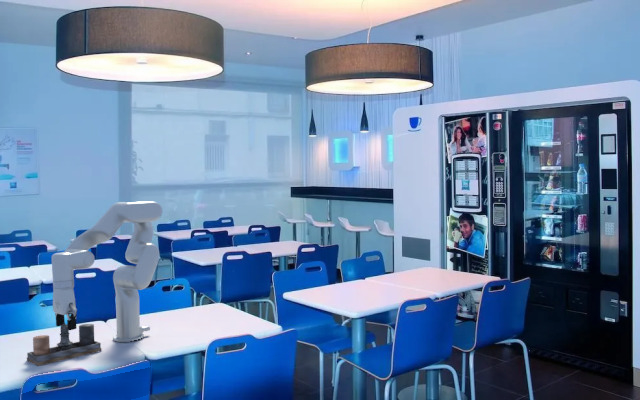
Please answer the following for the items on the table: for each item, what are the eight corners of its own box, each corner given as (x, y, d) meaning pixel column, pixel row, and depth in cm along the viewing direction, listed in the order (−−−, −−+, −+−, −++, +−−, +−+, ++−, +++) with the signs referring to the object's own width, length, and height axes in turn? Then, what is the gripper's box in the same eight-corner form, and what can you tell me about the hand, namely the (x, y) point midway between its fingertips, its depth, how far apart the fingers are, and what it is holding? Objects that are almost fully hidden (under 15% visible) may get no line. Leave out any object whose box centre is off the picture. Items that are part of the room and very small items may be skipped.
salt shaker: (74, 353, 236) (73, 322, 235) (57, 355, 233) (56, 324, 232) (72, 349, 241) (71, 319, 240) (56, 351, 238) (55, 321, 238)
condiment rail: (89, 346, 249) (88, 322, 249) (101, 351, 243) (100, 325, 242) (26, 360, 231) (26, 334, 230) (38, 366, 224) (37, 338, 224)
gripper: (44, 283, 239) (46, 326, 240) (64, 288, 227) (67, 333, 228) (62, 280, 244) (65, 321, 245) (83, 285, 233) (86, 329, 234)
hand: (66, 327), depth 237 cm, fingers open, 9 cm apart
